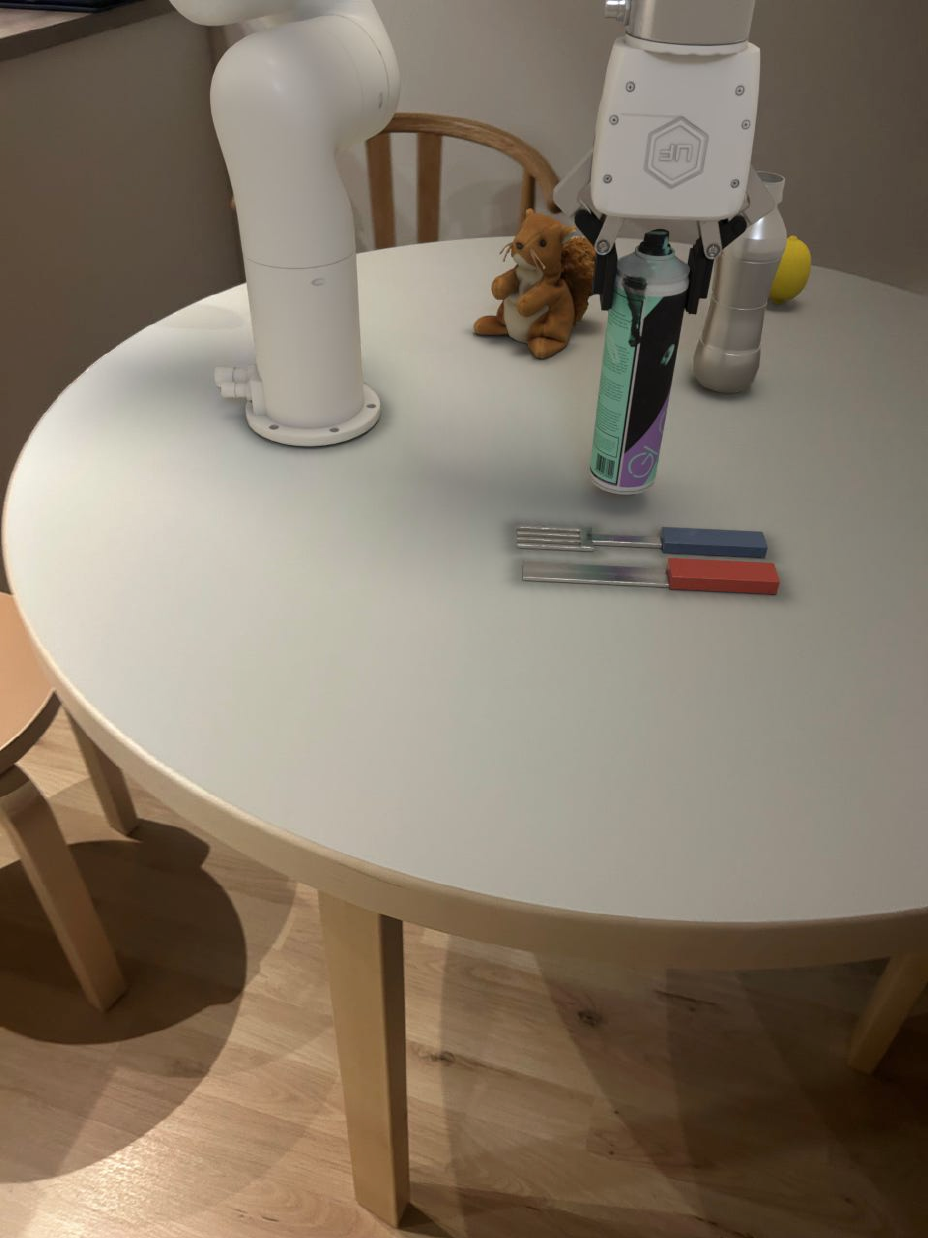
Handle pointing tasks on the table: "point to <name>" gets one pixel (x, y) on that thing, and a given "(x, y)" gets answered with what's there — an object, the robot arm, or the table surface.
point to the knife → (666, 575)
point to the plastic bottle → (741, 300)
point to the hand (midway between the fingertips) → (647, 302)
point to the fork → (649, 540)
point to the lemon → (791, 271)
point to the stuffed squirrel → (542, 286)
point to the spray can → (638, 365)
